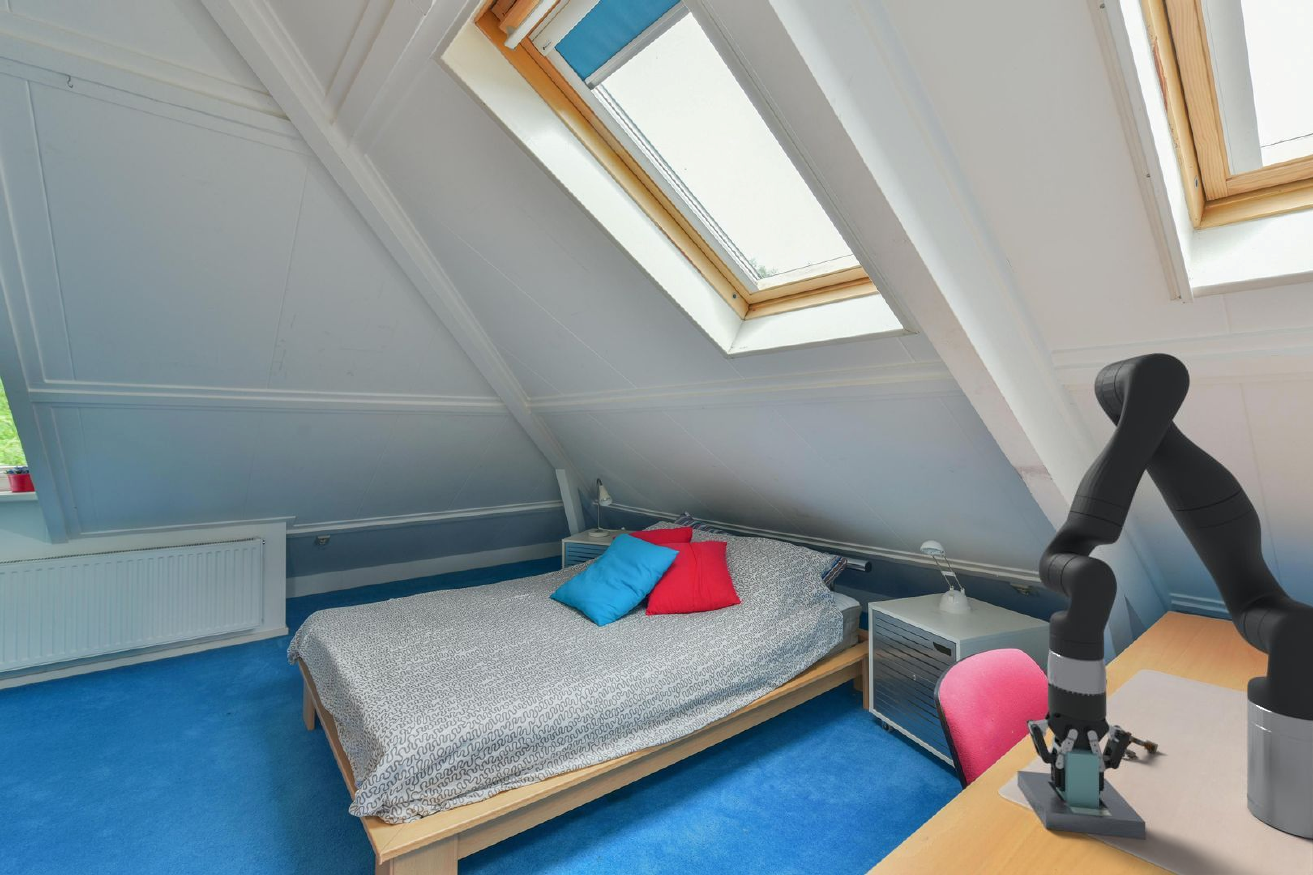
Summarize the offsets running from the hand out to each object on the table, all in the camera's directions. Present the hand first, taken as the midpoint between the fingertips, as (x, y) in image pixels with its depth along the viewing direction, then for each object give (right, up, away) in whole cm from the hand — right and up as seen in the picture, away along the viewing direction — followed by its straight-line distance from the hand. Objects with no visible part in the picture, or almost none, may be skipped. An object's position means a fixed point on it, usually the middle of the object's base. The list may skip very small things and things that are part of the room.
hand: (1076, 789), depth 94 cm
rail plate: (0, -3, 0) cm, 3 cm away
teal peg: (0, -1, 0) cm, 1 cm away
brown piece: (+22, -3, +15) cm, 27 cm away
